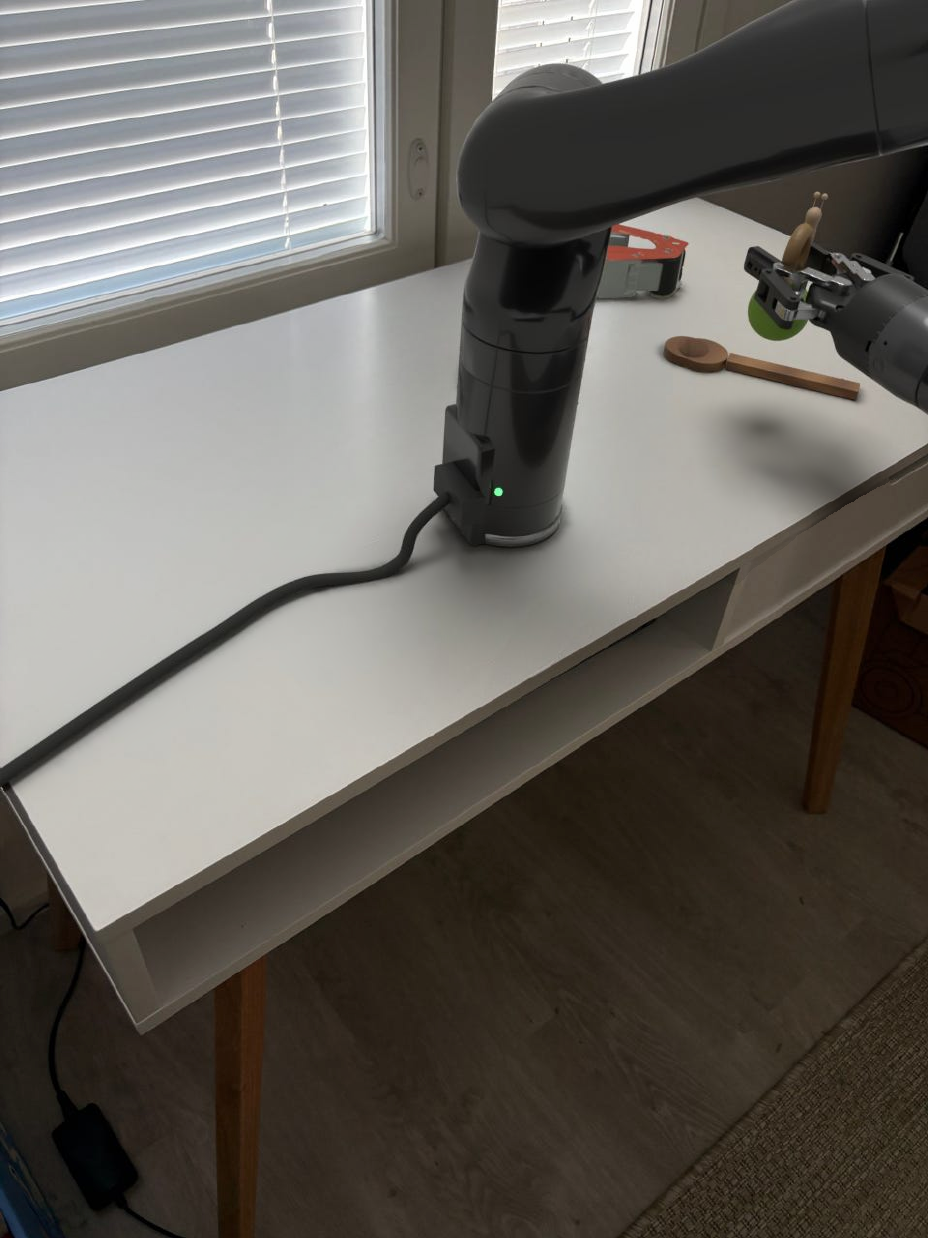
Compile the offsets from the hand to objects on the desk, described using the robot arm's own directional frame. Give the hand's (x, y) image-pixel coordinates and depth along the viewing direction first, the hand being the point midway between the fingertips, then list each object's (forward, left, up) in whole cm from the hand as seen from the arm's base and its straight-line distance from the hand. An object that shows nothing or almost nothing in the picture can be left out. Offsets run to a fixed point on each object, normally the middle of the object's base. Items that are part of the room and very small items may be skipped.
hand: (773, 253), depth 90 cm
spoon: (+6, +3, -15) cm, 16 cm away
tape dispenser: (-1, +24, -15) cm, 28 cm away
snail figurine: (0, -3, -7) cm, 7 cm away
